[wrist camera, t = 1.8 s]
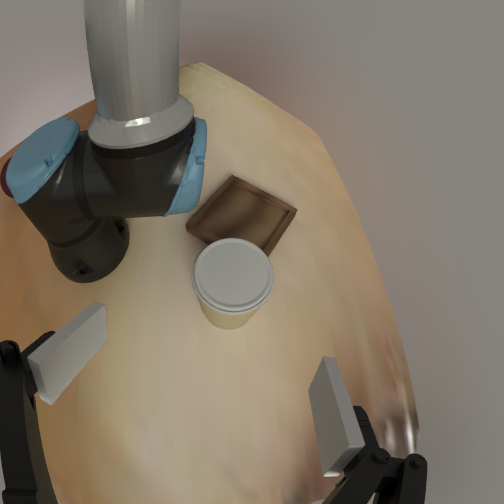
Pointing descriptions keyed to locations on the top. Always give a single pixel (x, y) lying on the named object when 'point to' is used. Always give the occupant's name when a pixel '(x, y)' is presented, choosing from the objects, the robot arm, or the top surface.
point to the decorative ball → (3, 182)
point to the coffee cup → (232, 281)
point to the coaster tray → (242, 216)
